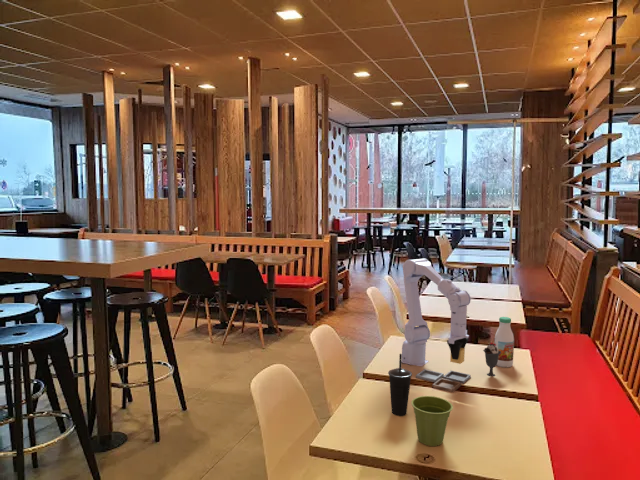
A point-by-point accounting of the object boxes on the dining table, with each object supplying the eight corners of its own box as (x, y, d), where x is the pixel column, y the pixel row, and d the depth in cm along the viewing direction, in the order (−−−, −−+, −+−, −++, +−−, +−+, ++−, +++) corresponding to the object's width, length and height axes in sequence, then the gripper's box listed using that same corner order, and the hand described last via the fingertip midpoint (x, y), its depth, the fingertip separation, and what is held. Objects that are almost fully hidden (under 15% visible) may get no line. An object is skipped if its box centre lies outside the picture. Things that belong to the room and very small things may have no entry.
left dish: (415, 378, 198) (415, 375, 198) (424, 372, 205) (424, 369, 204) (435, 383, 194) (435, 379, 193) (443, 377, 200) (443, 373, 200)
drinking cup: (412, 409, 171) (414, 351, 169) (408, 419, 164) (410, 359, 162) (389, 406, 173) (391, 349, 171) (385, 416, 166) (386, 356, 164)
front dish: (432, 388, 189) (432, 384, 189) (440, 381, 195) (441, 378, 195) (453, 393, 184) (453, 389, 184) (461, 386, 191) (461, 382, 191)
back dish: (442, 380, 197) (443, 376, 197) (450, 374, 203) (450, 370, 203) (463, 385, 192) (463, 381, 192) (470, 378, 199) (470, 374, 199)
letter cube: (450, 361, 196) (450, 348, 196) (454, 358, 199) (454, 346, 199) (460, 363, 194) (460, 350, 193) (464, 360, 197) (464, 348, 197)
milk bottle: (490, 364, 214) (492, 318, 212) (498, 360, 220) (500, 314, 218) (508, 369, 209) (510, 321, 207) (515, 364, 215) (518, 317, 212)
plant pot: (425, 454, 143) (427, 416, 141) (402, 435, 154) (403, 399, 152) (460, 446, 147) (461, 408, 146) (435, 428, 158) (436, 393, 157)
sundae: (497, 373, 205) (499, 336, 203) (501, 379, 198) (503, 341, 196) (480, 372, 205) (482, 336, 204) (484, 378, 199) (485, 341, 197)
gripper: (461, 328, 187) (460, 364, 188) (475, 320, 199) (473, 354, 200) (443, 325, 191) (442, 360, 192) (457, 317, 203) (456, 350, 204)
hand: (457, 357), depth 196 cm, fingers closed on letter cube, 4 cm apart
